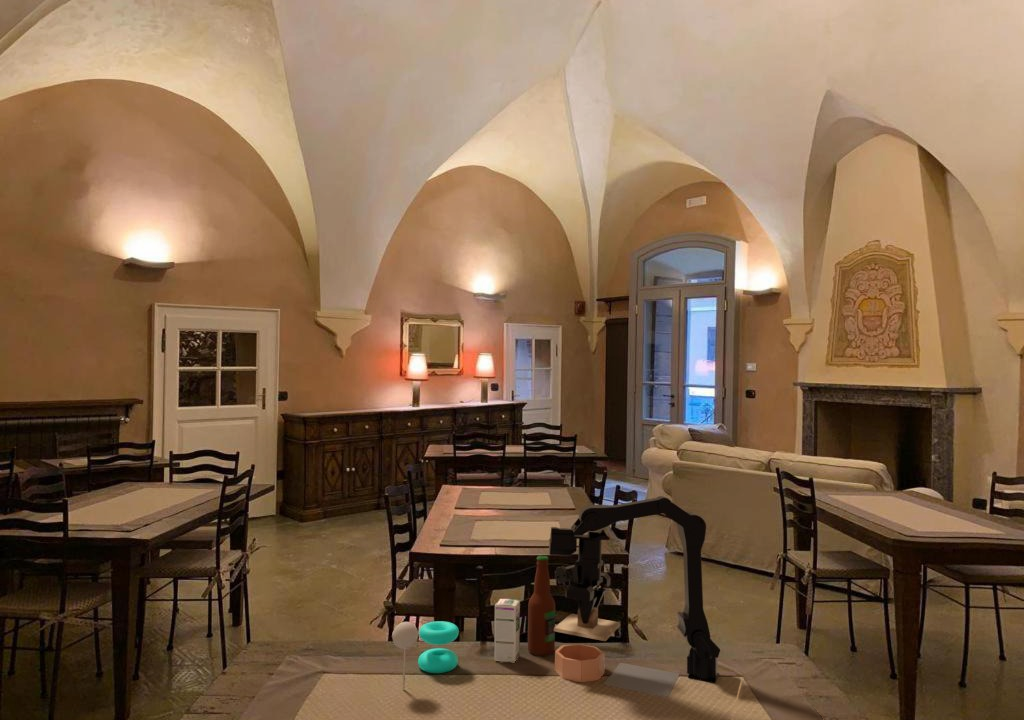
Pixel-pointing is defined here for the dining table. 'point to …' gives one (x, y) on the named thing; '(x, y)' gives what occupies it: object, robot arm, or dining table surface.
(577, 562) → the robot arm
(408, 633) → the lollipop
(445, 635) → the donuts
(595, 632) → the lid
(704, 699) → the dining table surface
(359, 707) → the dining table surface
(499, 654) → the syrup box
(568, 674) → the bowl
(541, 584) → the bottle
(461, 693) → the dining table surface
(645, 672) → the mat
